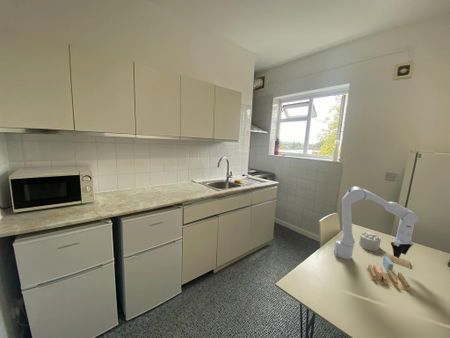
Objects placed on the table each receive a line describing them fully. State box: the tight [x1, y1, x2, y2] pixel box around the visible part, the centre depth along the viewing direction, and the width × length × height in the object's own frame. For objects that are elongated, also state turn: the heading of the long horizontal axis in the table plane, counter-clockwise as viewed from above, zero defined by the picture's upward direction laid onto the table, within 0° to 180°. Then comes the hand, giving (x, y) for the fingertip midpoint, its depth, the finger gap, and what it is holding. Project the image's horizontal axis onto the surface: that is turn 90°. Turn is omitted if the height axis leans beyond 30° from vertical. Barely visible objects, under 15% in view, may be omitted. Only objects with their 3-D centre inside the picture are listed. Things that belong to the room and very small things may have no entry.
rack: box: [365, 264, 413, 294], centre depth 95 cm, size 16×11×4 cm
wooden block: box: [372, 263, 383, 281], centre depth 97 cm, size 2×7×4 cm, turn 154°
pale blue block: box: [381, 255, 394, 273], centre depth 104 cm, size 2×8×6 cm, turn 154°
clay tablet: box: [387, 253, 411, 270], centre depth 112 cm, size 14×10×3 cm
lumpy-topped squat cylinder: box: [359, 231, 382, 252], centre depth 128 cm, size 10×13×9 cm
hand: (399, 255), depth 102 cm, fingers open, 7 cm apart
